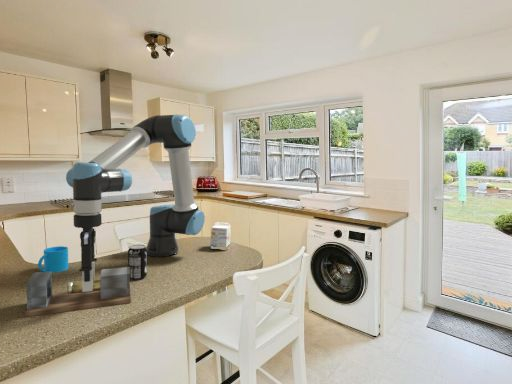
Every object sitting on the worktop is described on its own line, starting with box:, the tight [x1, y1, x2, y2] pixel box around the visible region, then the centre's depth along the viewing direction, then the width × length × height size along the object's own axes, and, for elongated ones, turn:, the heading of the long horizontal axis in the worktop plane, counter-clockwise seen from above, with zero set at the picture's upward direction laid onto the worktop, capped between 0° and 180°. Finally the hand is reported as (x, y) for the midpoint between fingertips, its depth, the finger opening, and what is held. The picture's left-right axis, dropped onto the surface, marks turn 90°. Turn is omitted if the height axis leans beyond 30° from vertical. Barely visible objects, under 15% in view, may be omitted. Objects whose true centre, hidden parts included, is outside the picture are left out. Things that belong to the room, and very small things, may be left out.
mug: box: [37, 245, 69, 273], centre depth 123 cm, size 12×8×8 cm
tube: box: [66, 278, 101, 294], centre depth 99 cm, size 16×4×4 cm, turn 113°
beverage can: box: [127, 244, 148, 281], centre depth 118 cm, size 7×7×12 cm
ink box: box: [210, 221, 232, 247], centre depth 163 cm, size 9×8×13 cm
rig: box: [25, 266, 132, 318], centre depth 97 cm, size 27×12×9 cm, turn 113°
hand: (88, 286), depth 98 cm, fingers open, 6 cm apart
